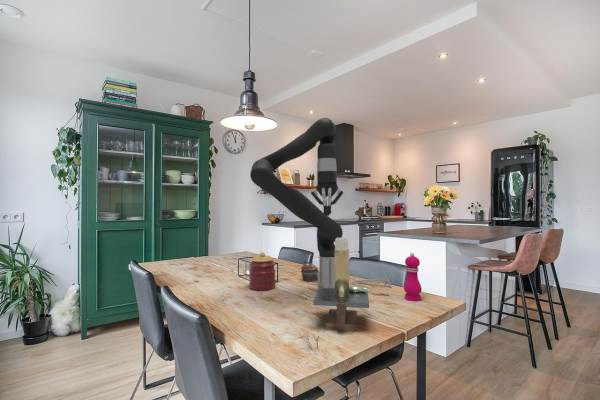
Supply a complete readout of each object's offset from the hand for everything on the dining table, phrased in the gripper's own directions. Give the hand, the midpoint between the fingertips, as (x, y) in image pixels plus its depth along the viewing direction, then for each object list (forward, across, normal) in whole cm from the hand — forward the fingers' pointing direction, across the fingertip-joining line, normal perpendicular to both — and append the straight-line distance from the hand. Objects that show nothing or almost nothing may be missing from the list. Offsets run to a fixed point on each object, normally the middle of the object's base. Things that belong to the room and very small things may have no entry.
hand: (327, 215), depth 121 cm
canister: (+37, -36, +29) cm, 59 cm away
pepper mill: (+38, +34, +22) cm, 55 cm away
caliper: (+38, +17, +42) cm, 59 cm away
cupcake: (+37, -15, +48) cm, 62 cm away
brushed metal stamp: (+29, +6, -11) cm, 31 cm away
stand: (+37, +6, -11) cm, 39 cm away
